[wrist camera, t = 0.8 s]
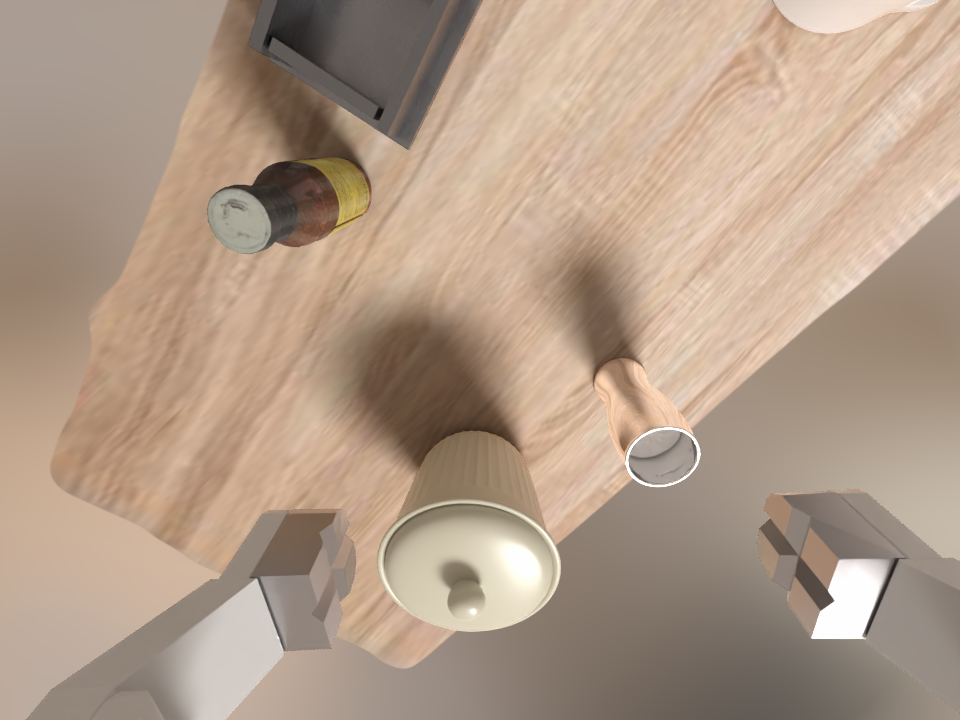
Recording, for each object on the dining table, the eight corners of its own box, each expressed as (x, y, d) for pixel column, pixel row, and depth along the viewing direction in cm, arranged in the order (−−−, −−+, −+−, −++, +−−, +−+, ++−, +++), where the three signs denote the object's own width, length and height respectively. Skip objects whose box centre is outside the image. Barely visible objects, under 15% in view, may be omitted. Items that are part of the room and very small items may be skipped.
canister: (450, 381, 54) (426, 505, 34) (571, 449, 57) (610, 596, 38) (383, 481, 60) (331, 632, 41) (495, 536, 64) (496, 699, 45)
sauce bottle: (335, 142, 43) (221, 130, 25) (386, 188, 45) (313, 209, 27) (299, 195, 45) (169, 220, 27) (349, 238, 47) (257, 287, 29)
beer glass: (584, 362, 52) (616, 434, 38) (645, 347, 51) (700, 416, 37) (595, 411, 55) (629, 496, 41) (653, 398, 54) (706, 480, 40)
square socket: (335, -117, 35) (300, -177, 29) (484, -5, 38) (482, -37, 32) (274, 61, 41) (233, 43, 34) (409, 149, 43) (394, 148, 37)
